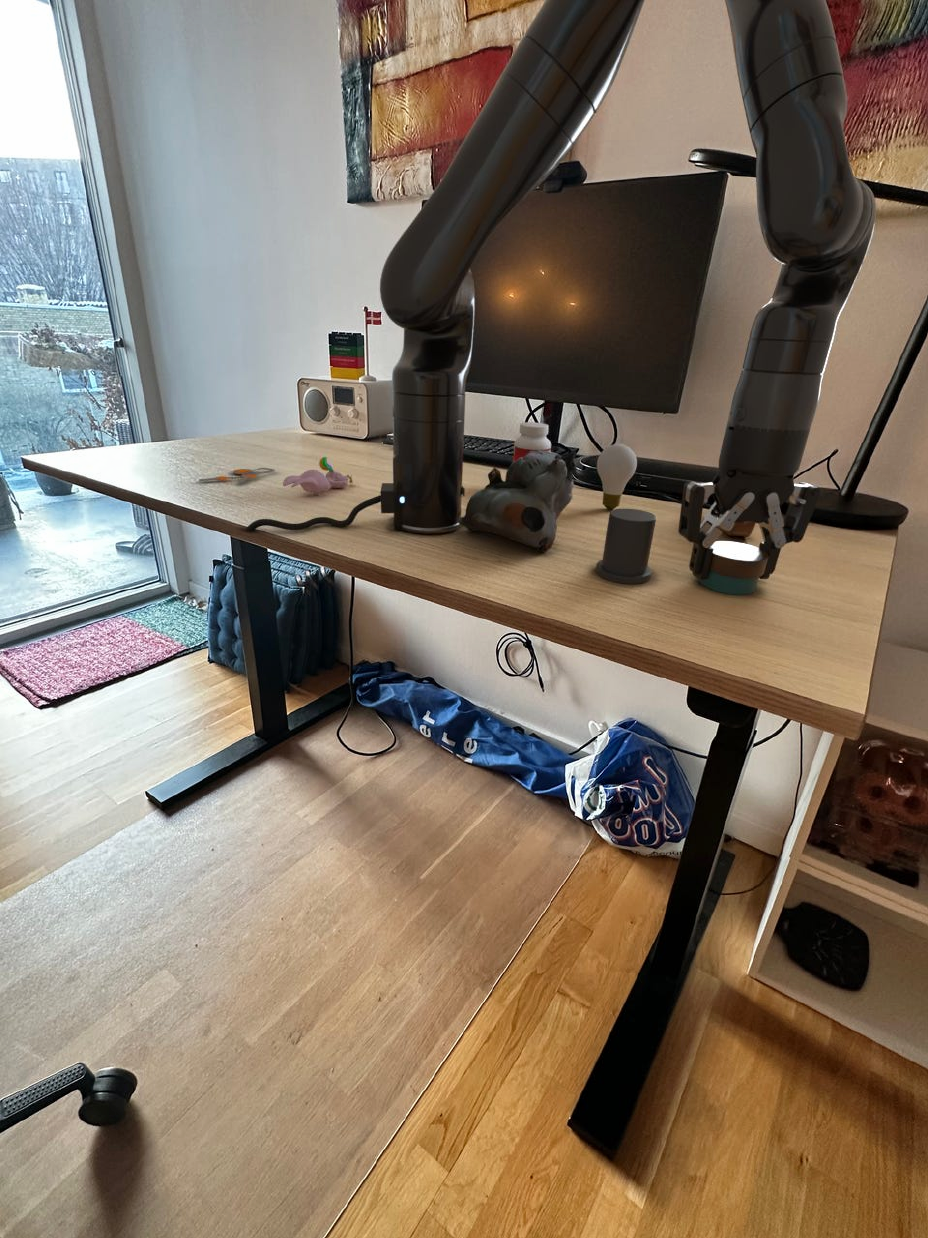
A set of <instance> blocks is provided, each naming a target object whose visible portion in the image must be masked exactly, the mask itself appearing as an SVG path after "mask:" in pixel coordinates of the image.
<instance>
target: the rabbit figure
mask: <svg viewBox="0 0 928 1238" xmlns="http://www.w3.org/2000/svg"><path fill="white" fill-rule="evenodd" d="M327 460H328V457H327V456H323V457H321V458H320V459H319V462H318V465H319V468H320V469H321V470H323V471H326V472H327V473H326V474H324V473H323V472H321V471H320V470H318V469H317V470H316V469H309V470H306V471H304V472H302V473H301V474H299V475H289V476H286V477H285V478H284V479H283V482H282V486H283V487H287V486H290V488H294V487H295V488H296V487H297V486H300V487H301V488H302V490H303V491H305V492H307V493H310V494H311V493H313V496H317V495H318V496H321V495H322V494H323V493H326V492H328V491H329V490H330V489H331V488H332V489H345V488H346V487H347V486H348V484H350V486H352V485H354V481H353V477H352V476H353V474H346V475H343V474H342V473H341V472H338V471H336V470H334V468H333V467H332V466H331V464H329V463H328V461H327Z"/></svg>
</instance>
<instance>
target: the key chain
mask: <svg viewBox="0 0 928 1238" xmlns="http://www.w3.org/2000/svg"><path fill="white" fill-rule="evenodd" d="M260 470H263V471H260ZM232 472H233V474H235V475H240V476H224V475H221V476H216V477H207V478H200V479H198V481H199V482H207V481H226V480H233V479H234V480H236V479H239V480H237V481H236V483H237V484H242V483H244V482H246V481H248V480H250V479H254V478H256V475H260V474H261V475H262V474H267V473H273V472H276V470H275V469H274V468H268V467H259V468H256V469H248V468H238V469H235V470H233V471H232Z"/></svg>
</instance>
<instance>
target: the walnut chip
mask: <svg viewBox="0 0 928 1238" xmlns="http://www.w3.org/2000/svg"><path fill="white" fill-rule="evenodd" d="M711 547H712V548H713V549H714V550H713V554H712V558H711V562H710V567H709V570H710V571H712V572H714V573H717V574H720V575H724V576H728V577H734V578H757V577H760V576H762V575H763V574H764V572H765V568H766V565H767V561H768V558H769V555H768V553H767V552H765V551H764V550H762V549H760V548H759V547H758V546H754V545H751V544H747V543H744V542H737V541H731V540H730V541H729V540H716V541H715V543H714V544H713V545H712V546H711Z"/></svg>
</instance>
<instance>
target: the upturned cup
mask: <svg viewBox="0 0 928 1238" xmlns="http://www.w3.org/2000/svg"><path fill="white" fill-rule="evenodd" d="M656 522H657V515H655V514H654V513H651V512H649V511H646V510H642V509H637V508H614V509H613V510H609V514H608V520H607V526H606V527H607V528H606V534H605V541H604V548H603V554H602V559H600V560H598V562H597V563H596V564H595V573H596V574H597V575H598V576H599V577H601V578H602V579H604V580H607V581H610V582H613V583H617V584H625V585H637V584H644V583H646V582H648V581H650V580H651V578H652V574H653V573H652V568H651V567H650V566H649V565H648V564H649V560H650V554H651V549H652V543H653V538H654V534H655V533H654V532H655V529H656Z"/></svg>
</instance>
